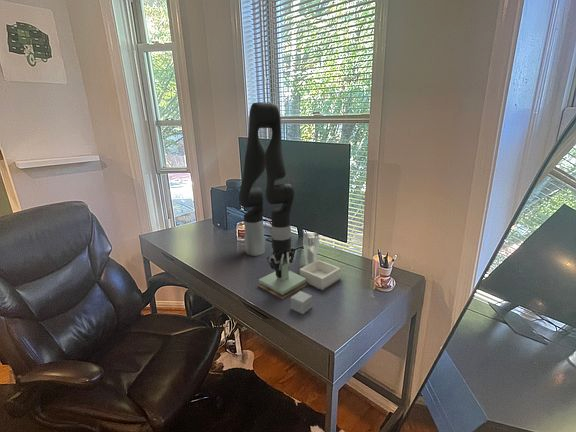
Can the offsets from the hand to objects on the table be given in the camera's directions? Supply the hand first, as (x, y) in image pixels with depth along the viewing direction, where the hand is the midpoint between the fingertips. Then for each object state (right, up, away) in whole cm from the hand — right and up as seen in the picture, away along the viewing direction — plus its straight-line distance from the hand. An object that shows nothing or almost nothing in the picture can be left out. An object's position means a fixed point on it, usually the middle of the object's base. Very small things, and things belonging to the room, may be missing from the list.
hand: (282, 275), depth 127 cm
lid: (0, -3, +1) cm, 3 cm away
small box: (+7, -10, -13) cm, 18 cm away
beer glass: (+13, +1, +17) cm, 22 cm away
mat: (0, -4, +1) cm, 5 cm away
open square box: (+16, -3, +5) cm, 17 cm away
